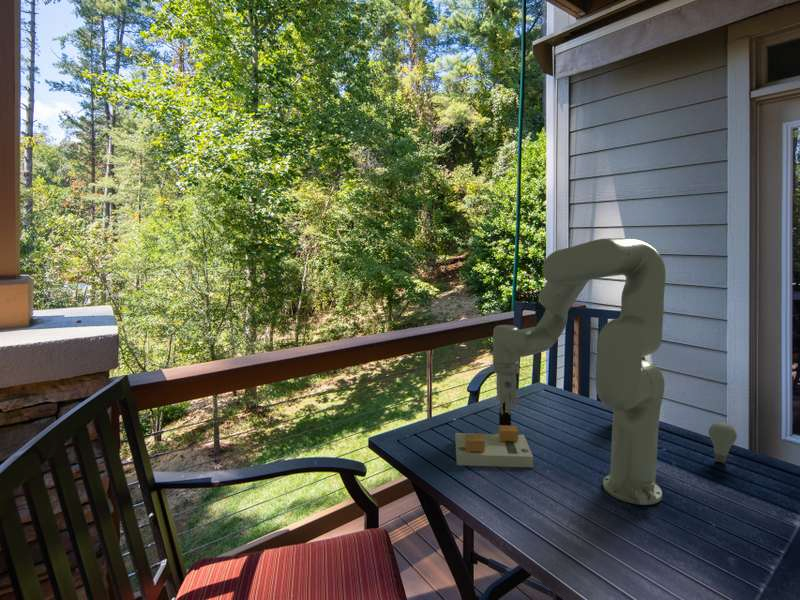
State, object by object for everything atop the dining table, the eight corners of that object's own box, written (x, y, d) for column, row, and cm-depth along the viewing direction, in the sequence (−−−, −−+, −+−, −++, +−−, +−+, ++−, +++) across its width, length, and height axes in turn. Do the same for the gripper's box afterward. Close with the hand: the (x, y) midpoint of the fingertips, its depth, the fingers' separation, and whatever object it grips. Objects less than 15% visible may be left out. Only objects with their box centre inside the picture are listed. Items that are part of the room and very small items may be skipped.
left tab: (484, 451, 122) (484, 441, 122) (465, 451, 122) (465, 440, 122) (483, 445, 126) (483, 434, 126) (465, 444, 126) (465, 434, 126)
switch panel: (533, 467, 120) (533, 456, 119) (456, 465, 122) (456, 454, 121) (523, 444, 134) (523, 434, 133) (455, 442, 135) (455, 432, 135)
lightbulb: (722, 469, 117) (725, 428, 116) (700, 459, 123) (703, 420, 122) (740, 466, 119) (743, 426, 118) (718, 455, 125) (721, 417, 123)
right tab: (518, 441, 128) (518, 431, 128) (500, 441, 128) (500, 430, 128) (515, 435, 132) (516, 425, 132) (498, 435, 132) (498, 425, 132)
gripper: (523, 374, 127) (521, 436, 129) (514, 360, 142) (513, 416, 144) (495, 373, 128) (495, 435, 130) (490, 360, 143) (489, 416, 145)
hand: (504, 425), depth 137 cm, fingers closed
